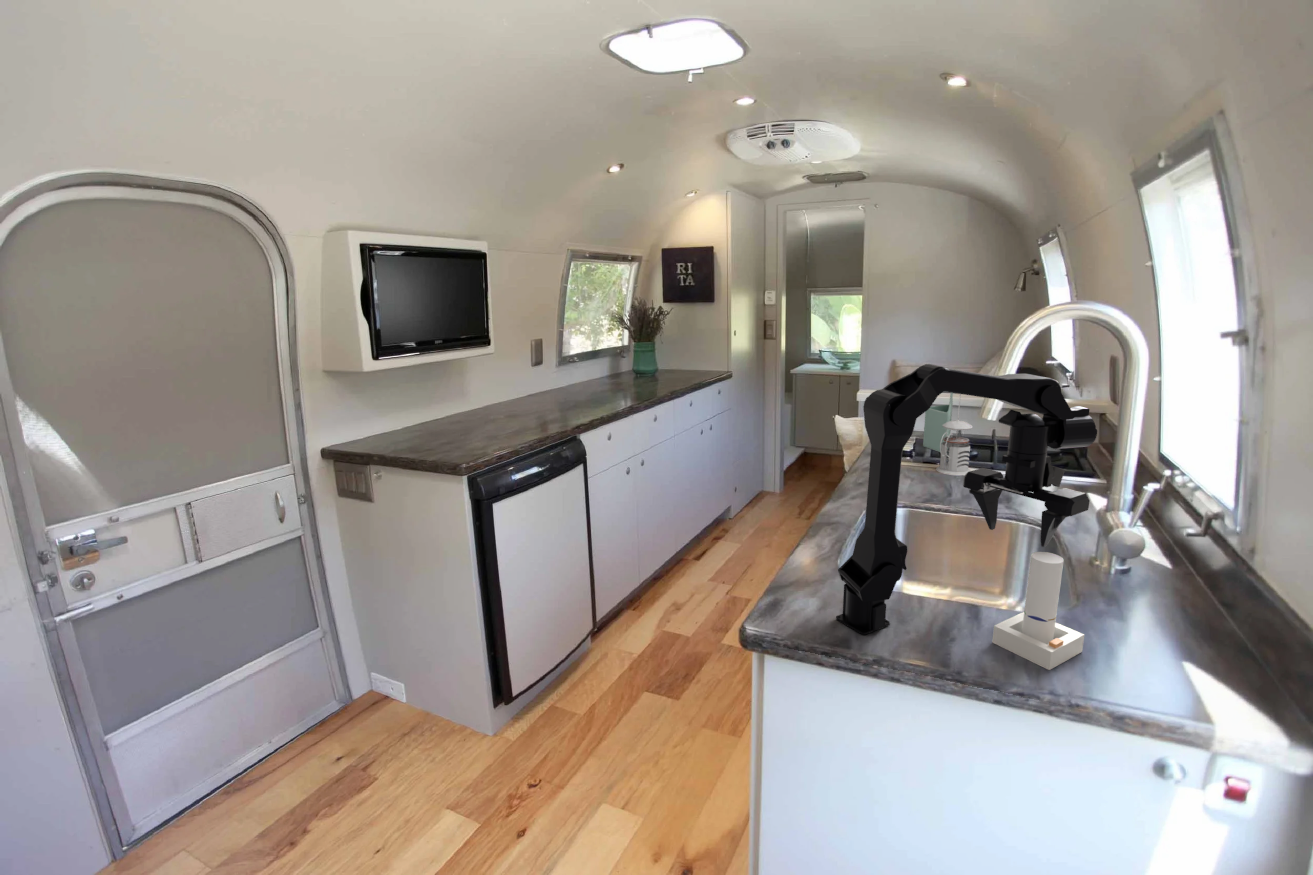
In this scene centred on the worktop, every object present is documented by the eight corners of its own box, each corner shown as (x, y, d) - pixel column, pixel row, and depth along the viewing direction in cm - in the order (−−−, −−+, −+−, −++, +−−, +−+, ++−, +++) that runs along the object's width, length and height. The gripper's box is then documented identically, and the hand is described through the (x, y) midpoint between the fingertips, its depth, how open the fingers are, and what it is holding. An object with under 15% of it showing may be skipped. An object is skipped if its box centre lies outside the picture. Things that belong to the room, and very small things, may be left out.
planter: (925, 440, 230) (929, 385, 225) (949, 442, 226) (954, 386, 222) (920, 451, 216) (924, 393, 211) (946, 454, 212) (951, 394, 208)
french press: (978, 471, 193) (986, 388, 187) (956, 478, 187) (963, 392, 181) (947, 464, 201) (954, 384, 195) (925, 471, 195) (931, 388, 189)
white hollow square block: (992, 642, 104) (994, 622, 103) (1025, 626, 108) (1027, 607, 108) (1049, 670, 96) (1052, 648, 96) (1082, 651, 101) (1085, 631, 100)
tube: (1040, 637, 105) (1052, 551, 101) (1057, 652, 100) (1070, 562, 97) (1014, 638, 104) (1025, 552, 101) (1030, 653, 100) (1042, 564, 97)
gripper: (1113, 454, 105) (1100, 545, 108) (1002, 433, 120) (994, 512, 124) (1075, 466, 99) (1063, 560, 103) (965, 441, 115) (957, 524, 118)
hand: (1017, 537), depth 112 cm, fingers open, 9 cm apart
